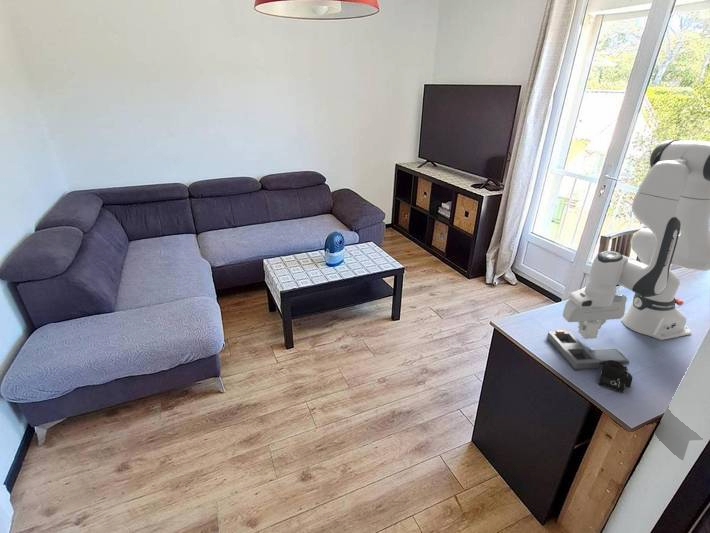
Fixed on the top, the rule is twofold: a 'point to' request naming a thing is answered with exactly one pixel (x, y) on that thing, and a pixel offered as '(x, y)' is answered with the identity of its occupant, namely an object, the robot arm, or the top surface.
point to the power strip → (572, 350)
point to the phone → (609, 355)
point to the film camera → (615, 376)
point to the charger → (590, 329)
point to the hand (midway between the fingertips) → (589, 328)
